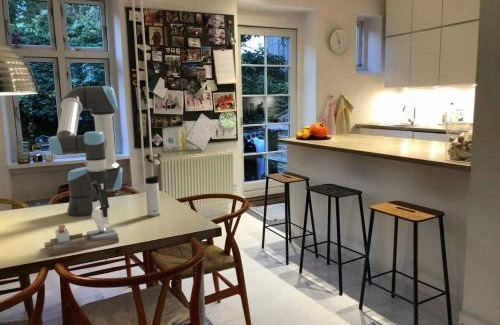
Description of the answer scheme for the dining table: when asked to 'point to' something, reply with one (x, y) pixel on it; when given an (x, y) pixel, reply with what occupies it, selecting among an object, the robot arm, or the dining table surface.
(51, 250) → the press base
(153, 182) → the travel mug
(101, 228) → the light bulb
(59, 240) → the ram slider
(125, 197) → the dining table surface
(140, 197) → the dining table surface
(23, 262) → the dining table surface
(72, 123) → the robot arm
